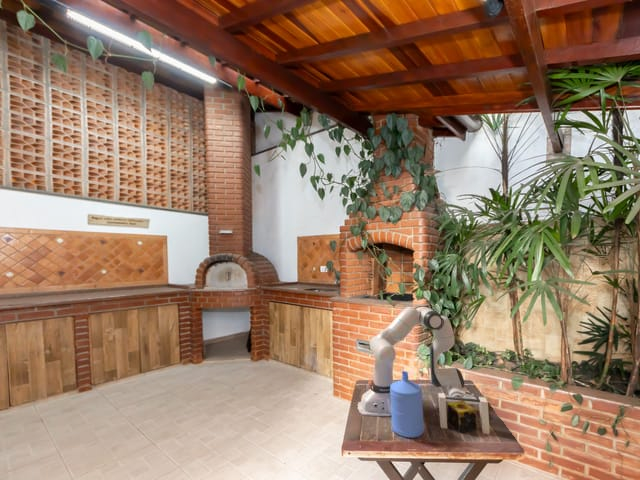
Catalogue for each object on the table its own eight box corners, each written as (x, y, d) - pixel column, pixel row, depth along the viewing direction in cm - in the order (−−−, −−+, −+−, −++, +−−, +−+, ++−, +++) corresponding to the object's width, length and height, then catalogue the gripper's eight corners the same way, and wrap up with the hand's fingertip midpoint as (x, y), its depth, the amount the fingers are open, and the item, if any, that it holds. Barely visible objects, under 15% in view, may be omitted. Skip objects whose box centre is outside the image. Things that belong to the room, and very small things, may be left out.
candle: (446, 422, 157) (445, 402, 157) (464, 419, 159) (462, 399, 159) (459, 433, 147) (458, 412, 147) (477, 430, 149) (476, 409, 149)
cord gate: (440, 427, 152) (439, 397, 153) (440, 422, 157) (438, 392, 157) (489, 433, 145) (487, 402, 146) (487, 428, 150) (485, 397, 151)
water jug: (426, 440, 142) (423, 379, 144) (392, 437, 146) (389, 377, 147) (421, 421, 158) (419, 367, 159) (391, 419, 161) (388, 366, 162)
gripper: (437, 390, 175) (439, 401, 162) (476, 394, 169) (482, 406, 156) (438, 401, 175) (440, 413, 162) (477, 405, 169) (482, 418, 156)
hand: (461, 410), depth 159 cm, fingers closed
